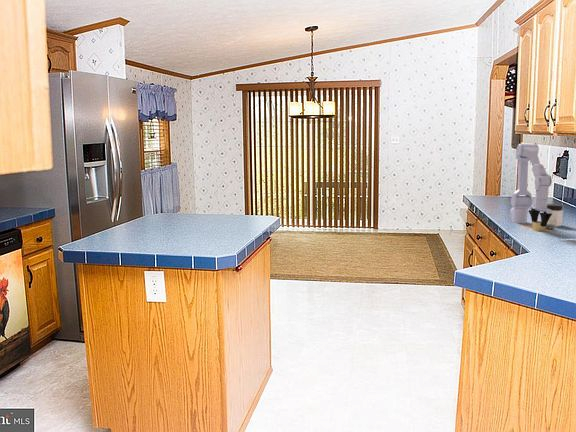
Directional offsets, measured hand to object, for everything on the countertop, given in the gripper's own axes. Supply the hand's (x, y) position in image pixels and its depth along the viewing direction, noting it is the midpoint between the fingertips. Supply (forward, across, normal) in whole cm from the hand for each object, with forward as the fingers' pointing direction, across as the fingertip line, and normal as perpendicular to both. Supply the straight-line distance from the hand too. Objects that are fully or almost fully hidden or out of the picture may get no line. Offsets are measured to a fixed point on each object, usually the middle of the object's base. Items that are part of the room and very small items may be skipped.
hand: (538, 225), depth 276 cm
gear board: (+3, -4, +2) cm, 6 cm away
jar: (+4, -12, +16) cm, 21 cm away
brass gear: (+2, 0, 0) cm, 2 cm away
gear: (+2, 0, +6) cm, 7 cm away
